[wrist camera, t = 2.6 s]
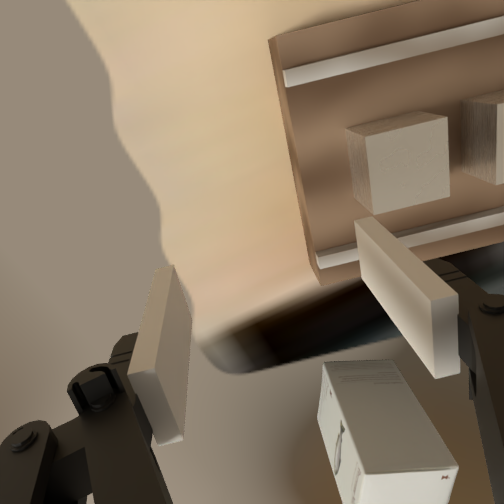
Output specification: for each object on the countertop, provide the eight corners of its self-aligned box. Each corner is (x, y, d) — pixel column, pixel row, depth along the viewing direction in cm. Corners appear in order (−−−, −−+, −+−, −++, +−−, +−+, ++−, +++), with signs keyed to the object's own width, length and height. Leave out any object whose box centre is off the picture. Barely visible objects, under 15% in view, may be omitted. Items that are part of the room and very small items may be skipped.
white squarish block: (345, 128, 29) (364, 137, 25) (417, 110, 29) (447, 116, 25) (354, 197, 31) (373, 215, 27) (421, 181, 31) (450, 196, 27)
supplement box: (321, 359, 41) (364, 473, 30) (394, 357, 42) (464, 467, 30) (314, 417, 44) (351, 541, 33) (382, 415, 45) (442, 534, 33)
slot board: (267, 39, 30) (278, 34, 25) (546, -30, 30) (607, -47, 25) (310, 264, 37) (324, 292, 32) (533, 209, 37) (579, 229, 32)
